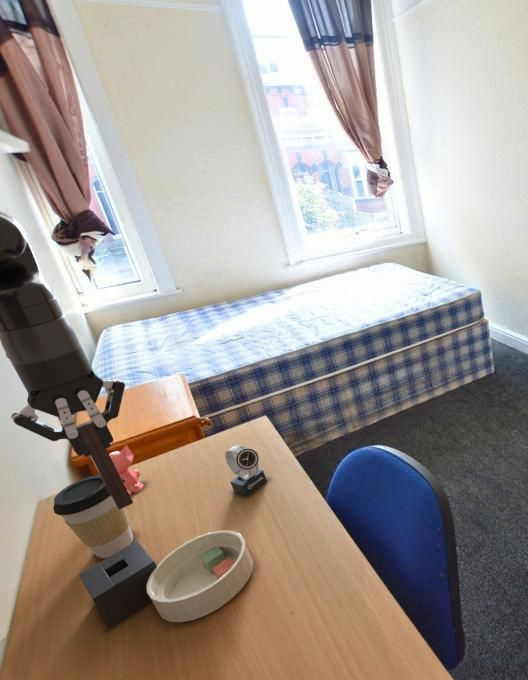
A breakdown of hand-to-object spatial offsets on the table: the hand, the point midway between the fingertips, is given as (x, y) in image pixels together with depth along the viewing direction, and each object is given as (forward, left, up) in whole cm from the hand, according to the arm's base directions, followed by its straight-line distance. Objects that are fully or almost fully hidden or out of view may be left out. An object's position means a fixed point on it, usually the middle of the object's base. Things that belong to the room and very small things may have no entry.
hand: (97, 450), depth 74 cm
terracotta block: (+7, -9, -30) cm, 32 cm away
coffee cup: (-3, +22, -31) cm, 38 cm away
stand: (-5, +4, -31) cm, 31 cm away
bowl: (+4, -6, -31) cm, 31 cm away
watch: (+22, +15, -31) cm, 41 cm away
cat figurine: (+5, +40, -31) cm, 51 cm away
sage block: (+7, -4, -30) cm, 31 cm away
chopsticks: (0, 0, -11) cm, 11 cm away
